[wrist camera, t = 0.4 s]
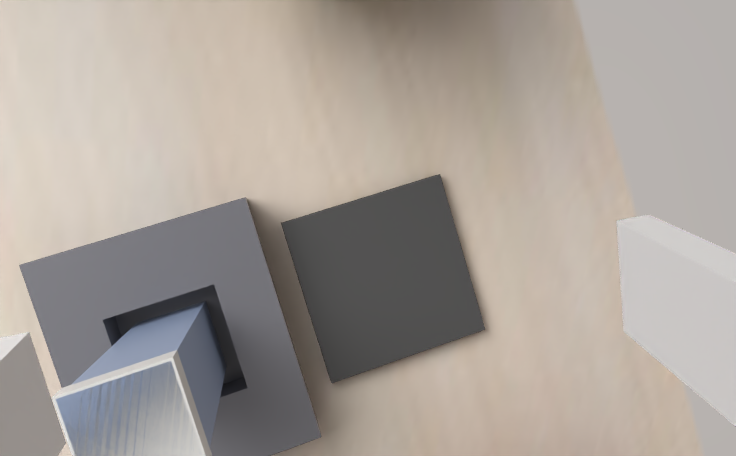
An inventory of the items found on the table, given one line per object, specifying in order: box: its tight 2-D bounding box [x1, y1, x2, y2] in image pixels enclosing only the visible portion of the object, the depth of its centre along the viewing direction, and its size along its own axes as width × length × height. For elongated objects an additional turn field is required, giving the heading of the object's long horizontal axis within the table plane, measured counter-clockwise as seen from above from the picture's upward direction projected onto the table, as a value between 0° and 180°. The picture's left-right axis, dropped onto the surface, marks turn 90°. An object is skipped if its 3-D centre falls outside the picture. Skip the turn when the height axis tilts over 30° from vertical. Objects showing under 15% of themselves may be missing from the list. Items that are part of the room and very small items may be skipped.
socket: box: [19, 197, 321, 456], centre depth 36 cm, size 14×12×3 cm
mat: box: [281, 174, 485, 383], centre depth 40 cm, size 10×10×1 cm
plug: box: [52, 301, 227, 456], centre depth 30 cm, size 4×4×15 cm
